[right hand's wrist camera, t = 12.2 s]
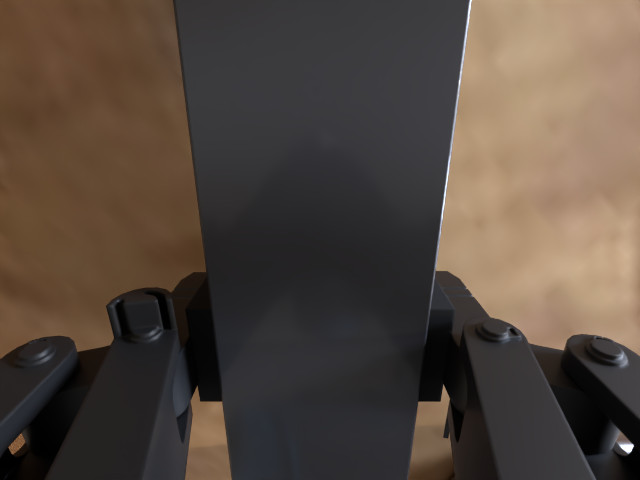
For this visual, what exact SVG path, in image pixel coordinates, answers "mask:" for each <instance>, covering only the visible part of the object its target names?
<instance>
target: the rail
mask: <svg viewBox="0 0 640 480" xmlns="http://www.w3.org/2000/svg"><path fill="white" fill-rule="evenodd" d="M471 2H472V0H173V5H174V13H175V21H176V29H177V37H178V46H179V54H180V62H181V70H182V78H183V86H184V94H185V102H186V111H187V119H188V127H189V135H190V143H191V151H192V159H193V168H194V176H195V184H196V192H197V200H198V208H199V216H200V225H201V233H202V241H203V249H204V257H205V265H206V273H207V281H208V290H209V298H210V306H211V314H212V322H213V330H214V338H215V347H216V355H217V363H218V371H219V379H220V387H221V395H222V404H223V412H224V420H225V428H226V436H227V444H228V452H229V460H230V469H231V477H232V480H408V474H409V467H410V459H411V452H412V444H413V437H414V429H415V422H416V414H417V407H418V399H419V392H420V384H421V377H422V369H423V362H424V354H425V347H426V339H427V332H428V324H429V317H430V309H431V302H432V294H433V287H434V279H435V272H436V264H437V257H438V249H439V242H440V234H441V227H442V219H443V212H444V204H445V197H446V189H447V182H448V174H449V167H450V159H451V152H452V144H453V137H454V129H455V122H456V114H457V107H458V99H459V92H460V84H461V77H462V69H463V62H464V54H465V47H466V39H467V32H468V24H469V17H470V9H471Z"/></svg>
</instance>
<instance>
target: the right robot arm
mask: <svg viewBox="0 0 640 480" xmlns="http://www.w3.org/2000/svg"><path fill="white" fill-rule="evenodd" d="M106 308H107V312H108V315H109V319H110V323H111V327H112V331H113V335H114V340H113V342H112V344H111V345H110V346H106V347H101V348H96V349H91V350H86V351H80V352H77V349H76V346H75V343H74V341H73V340H72V339H70V338H69V337H64V336H52V337H43V338H40V339H35V340H32V341H30V342H28V343H26V344H24V345H22V346H20V347H17V348H16V349H14V350H13V351H11V352H10V353H8V354H7V355H5V356H4V357H3V358H1V359H0V480H185V473H186V465H187V456H188V448H189V440H190V432H191V424H192V415H193V414H192V407H191V402H190V401H191V398H192V396H193V394H194V392H195V389H196V387H197V385H198V391H199V397H200V401H222V395H221V387H220V379H219V371H218V363H217V355H216V347H215V338H214V330H213V322H212V314H211V306H210V298H209V290H208V281H207V273H206V272H193V273H192V274H190V275H189V276H187V277H185V278H184V279H182V280H181V281H180V282H179V284H178V285H177V286H176V287H175V289H174V291H172V292H171V293H170V292H169V291H167V290H166V289H162V288H157V287H155V288H142V289H136V290H132V291H129V292H127V293H124V294H121V295H120V296H118V297H116V298H114V299H113V300H111V301H110V302H109V304H108V305H107V306H106ZM443 384H444V386H445V388H446V390H447V393H448V395H449V397H450V402H449V407H448V413H447V418H446V424H445V429H444V436H443V438H448V436H449V431H450V439H451V447H452V455H453V464H454V472H455V476H454V477H453V478H452V479H451V480H640V356H639V355H637V354H636V353H634V352H633V351H631V350H630V349H628V348H627V347H625V346H623V345H621V344H619V343H616V342H614V341H613V340H611V339H608V338H605V337H604V338H602V337H601V336H596V335H585V334H580V335H574V336H572V337H570V338H569V339H568V340H567V342H566V346H565V349H564V351H563V350H558V349H553V348H548V347H542V346H537V345H533V344H529V343H528V341H527V339H526V337H525V336H524V335H523V334H522V332H521V331H520V330H519V329H517V328H516V327H514V326H513V325H511V324H509V323H507V322H504V321H502V320H499V319H495V318H490V317H489V315H488V314H487V313H486V312H485V310H484V309H483V308H482V307H481V305H480V304H479V303H478V301H477V300H476V299H475V298H474V297H472V294H471V293H470V291H469V290H468V289H466V286H465V285H464V284H463V283H462V281H461V280H460V279H459V278H457V277H456V276H454V275H452V274H451V273H449V272H448V271H436V272H435V279H434V287H433V294H432V302H431V309H430V317H429V324H428V332H427V339H426V347H425V354H424V362H423V369H422V377H421V384H420V392H419V399H418V402H421V401H441V395H442V389H443ZM21 433H22V435H23V437H24V440H25V442H26V443H25V444H24V445H23V446H22V447H21V448H20V449H19V450H18V451H17V452H16V453H15V454H11V452H10V450H9V448H8V447H9V446H10V445H11V444H12V442H13V441H14V440H15V439H16V438H17V437H18V436H19V435H20V434H21Z"/></svg>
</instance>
